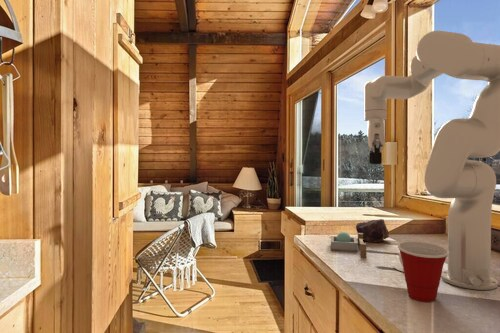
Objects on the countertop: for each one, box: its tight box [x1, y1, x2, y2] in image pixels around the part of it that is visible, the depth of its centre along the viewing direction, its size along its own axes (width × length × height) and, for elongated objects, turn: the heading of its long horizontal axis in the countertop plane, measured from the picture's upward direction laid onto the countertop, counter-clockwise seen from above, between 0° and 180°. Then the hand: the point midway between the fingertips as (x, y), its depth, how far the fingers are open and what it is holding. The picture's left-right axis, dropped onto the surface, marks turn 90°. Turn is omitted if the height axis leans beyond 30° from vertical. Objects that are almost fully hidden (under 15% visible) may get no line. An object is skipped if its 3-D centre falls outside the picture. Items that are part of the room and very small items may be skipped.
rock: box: [355, 218, 390, 244], centre depth 138 cm, size 12×9×10 cm
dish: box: [330, 235, 359, 253], centre depth 128 cm, size 9×9×3 cm
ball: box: [336, 231, 351, 242], centre depth 128 cm, size 5×5×5 cm
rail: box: [357, 233, 367, 259], centre depth 124 cm, size 18×2×4 cm, turn 166°
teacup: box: [393, 251, 404, 273], centre depth 103 cm, size 10×10×5 cm
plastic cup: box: [397, 240, 449, 303], centre depth 82 cm, size 11×11×12 cm
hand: (375, 163), depth 128 cm, fingers open, 9 cm apart
